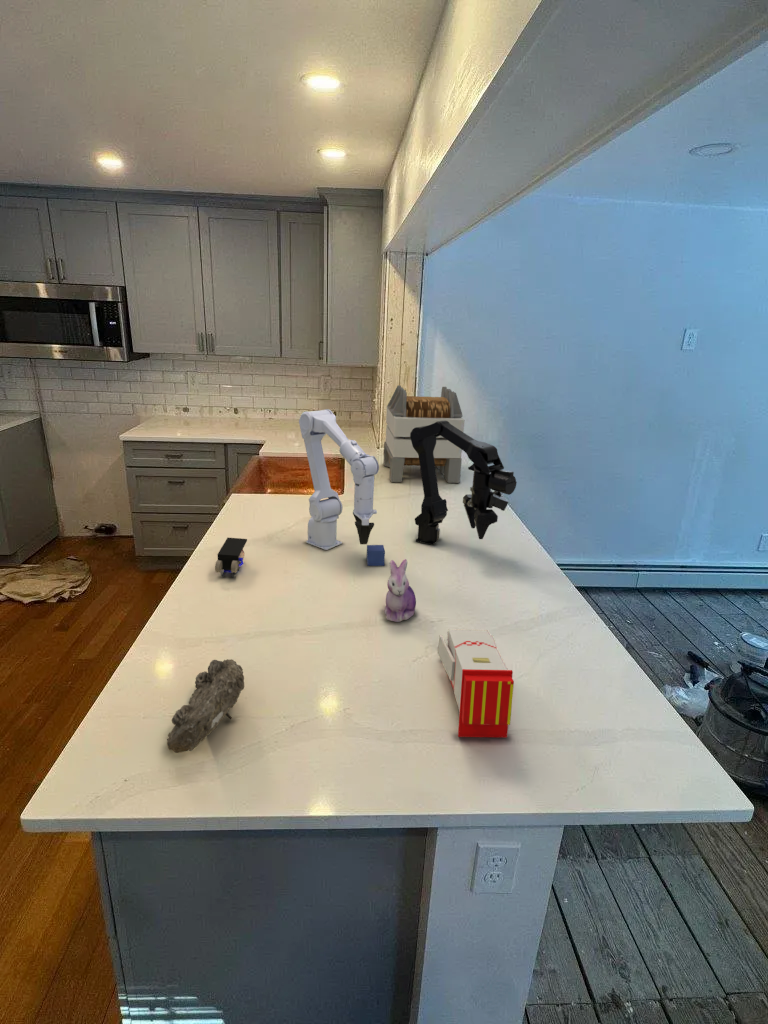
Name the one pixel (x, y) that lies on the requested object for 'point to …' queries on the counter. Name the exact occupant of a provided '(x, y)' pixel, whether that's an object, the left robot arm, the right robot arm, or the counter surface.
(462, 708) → the toy
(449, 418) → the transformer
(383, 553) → the blue cube
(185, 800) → the counter surface
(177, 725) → the fossil
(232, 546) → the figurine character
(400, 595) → the figurine
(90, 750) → the counter surface
